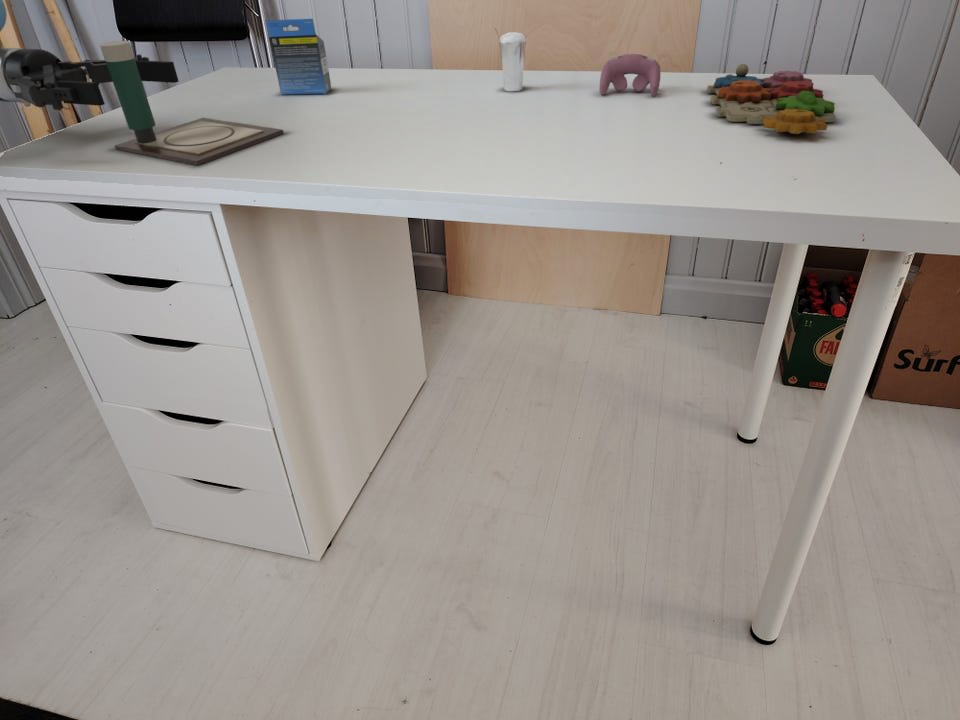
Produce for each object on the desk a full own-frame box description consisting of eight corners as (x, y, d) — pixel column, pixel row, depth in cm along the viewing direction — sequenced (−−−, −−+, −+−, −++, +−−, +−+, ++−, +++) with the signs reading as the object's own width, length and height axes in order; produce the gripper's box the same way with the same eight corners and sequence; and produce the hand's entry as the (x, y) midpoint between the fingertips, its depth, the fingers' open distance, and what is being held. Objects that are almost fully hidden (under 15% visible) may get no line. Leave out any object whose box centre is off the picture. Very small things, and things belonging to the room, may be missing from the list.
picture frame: (115, 149, 94) (113, 143, 94) (203, 121, 106) (202, 115, 105) (197, 165, 87) (195, 159, 86) (283, 133, 98) (282, 127, 97)
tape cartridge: (332, 89, 121) (320, 15, 114) (326, 94, 118) (313, 18, 111) (287, 90, 122) (272, 16, 115) (279, 95, 119) (264, 20, 112)
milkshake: (492, 88, 116) (491, 26, 110) (520, 85, 117) (520, 23, 112) (500, 94, 112) (499, 30, 107) (529, 90, 114) (529, 27, 108)
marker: (128, 142, 94) (93, 45, 87) (149, 136, 97) (118, 40, 89) (144, 145, 92) (110, 46, 85) (165, 138, 95) (135, 41, 88)
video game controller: (657, 101, 110) (663, 58, 109) (658, 94, 105) (663, 49, 104) (599, 100, 112) (604, 57, 111) (597, 93, 108) (602, 49, 107)
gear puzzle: (856, 143, 83) (866, 110, 80) (724, 141, 86) (730, 109, 83) (805, 87, 108) (811, 60, 105) (704, 87, 110) (708, 61, 108)
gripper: (105, 84, 107) (207, 90, 101) (-40, 125, 88) (73, 135, 82) (88, 34, 103) (193, 37, 96) (-69, 66, 84) (48, 72, 77)
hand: (138, 82), depth 89 cm, fingers open, 13 cm apart
